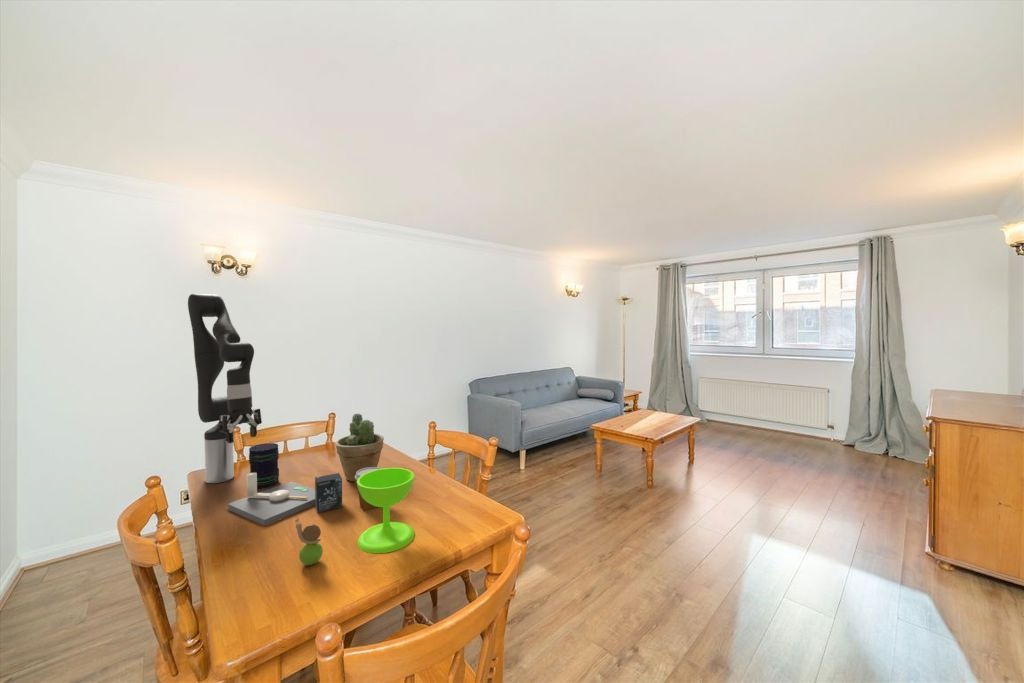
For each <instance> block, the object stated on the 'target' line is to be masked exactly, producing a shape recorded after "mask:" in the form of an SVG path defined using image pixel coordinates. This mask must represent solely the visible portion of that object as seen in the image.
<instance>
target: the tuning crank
mask: <svg viewBox="0 0 1024 683" xmlns="http://www.w3.org/2000/svg"><path fill="white" fill-rule="evenodd" d="M246 496H247V498H266V499H269V500H270V501H273V502H275V501H282V500H285V499H287V498H298V499H307V497H303V496H289V491H288V490H278V491H275V492H272V493H260V492H258V490H257V473H250V472H249V473H247V474H246Z"/></svg>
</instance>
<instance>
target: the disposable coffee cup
mask: <svg viewBox="0 0 1024 683" xmlns="http://www.w3.org/2000/svg"><path fill="white" fill-rule="evenodd" d="M378 469H383V468H381V467H379V466H377V467H367V468H363V469H360V470H358V471H357V472H356V475H355V479H356V481H357V479H358V478H359V477H360V476H362V475H363V474H365V473H368V472H370V471H374V470H378ZM356 487H357V493H358V501H359V508H360V509H362V510H373V509H375V508H377V507H376V506H374V505H371V504H369V503H368V502H366V501H365V500H364V499H363V498H362V496H361V494H360V492H359V490H358V486H357V485H356Z"/></svg>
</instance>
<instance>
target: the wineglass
mask: <svg viewBox="0 0 1024 683" xmlns="http://www.w3.org/2000/svg"><path fill="white" fill-rule="evenodd" d="M414 478H415V473H414V472H413V471H412V470H410V469H407V468H401V467H387V468H384V467H383V468H382V469H378V470H374V471H370V472H368V473H365V474H363V475H362V476H360V477H359V478H358V479H357V482H356V487H357V486H358V488H357V491H358V490H359V492H360V494H361V496H362V498H363V499H364V500H365V501H366V502H368V503H369V504H371V505H374V506H376V507H375V508H377V507H378V508H382V519H383V520H382V523H378V524H376V525H371V527H368V528H367V529H365V531H363V532H362V533H361V534H360V535H359V537H358V539H357V545H358V548H359V549H360V550H361V551H364V552H366V553H369V554H386V553H390V552H394V551H398V550H401V549H403V548H405V547H406V546H408V545H409V544H410V543H411V542H412V541H413V540H414V538H415V530H414V529H413V528H412V527H411V526H410V525H409V524H407V523H404V522H398V521H391V520H390V519H391V515H390V514H391V513H390V512H391V510H390V509H391V507H393V506H395V505H396V504H399V503H400V502H401V501H402V500H404V499H405V498H406V497H407V496H408V494H409V493H410V491H411V489H412V487H413V484H414V481H415V479H414Z"/></svg>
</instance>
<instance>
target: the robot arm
mask: <svg viewBox="0 0 1024 683" xmlns="http://www.w3.org/2000/svg"><path fill="white" fill-rule="evenodd" d="M187 310H188V314H189V319H190V320H189V321H190V324H191V330H192V338H193V340H192V342H193V350H194V351H193V352H194V363H195V369H196V370H195V371H196V379H197V411H198V416H199V420H200V421H201V422H203V423H205V424H207V423H212V422H217V424H215V425H214V426H213V427H211V428H209V429H207V430H206V431H205V432H204V434H203V437H204V440H203V441H204V470H205V471H204V472H205V473H204V476H205V483H207V484H218V483H223V482H227V481H230V480H231V479H233V478H234V477H235V474H234V472H235V470H234V468H235V467H234V464H235V462H234V441H235V440H234V429H235V428H237V426H238V425H242V424H247V425H249V435H250V436H249V437H251V438H255V437H257V434H258V433H257V432H258V429H257V428H258V426H259V425H261V424H262V423H263V421H262V413H261V408H253V396H252V395H253V394H252V386H251V376H250V374H251V369H252V368H251V367H252V363H253V360H254V356H255V349H254V347H253V345H252V344H251V343H250V342H241V337H240V334H239V333H238V332H237V330H236V328H235V327H234V325H233V323H232V321H231V318H230V315H229V312H228V309H227V307H226V303H225V301H224V299H223V298H222V297H221V296H220V295H219V294H211V293H209V294H208V293H191V294H190V295H189V296H188V299H187ZM215 317H216V318H217V319H216V321H215V322H214V323H213V325H212V333H211V332H210V331H209V330H208V328H207V327H206V324H205V322H204V318H215ZM237 362H238V363H239V362H240V363H239V365H238V367H234V368H230V369H228V370H227V371H226V381H227V382H226V383H227V384H226V385H227V386H226V396H219V397H212V394H213V387H214V384H215V382H216V380H217V379H218V377H219V376H220V374H221V372H222V370H223V369H224V365H225V363H237ZM252 408H253V409H252ZM252 416H253V417H252Z"/></svg>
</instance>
